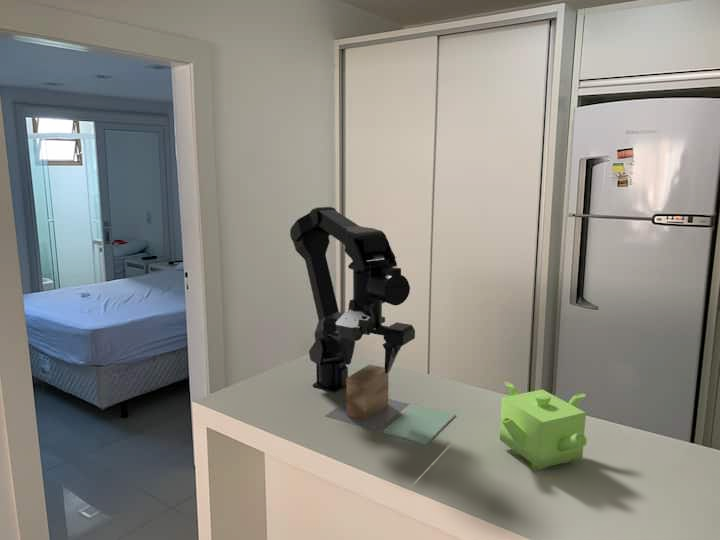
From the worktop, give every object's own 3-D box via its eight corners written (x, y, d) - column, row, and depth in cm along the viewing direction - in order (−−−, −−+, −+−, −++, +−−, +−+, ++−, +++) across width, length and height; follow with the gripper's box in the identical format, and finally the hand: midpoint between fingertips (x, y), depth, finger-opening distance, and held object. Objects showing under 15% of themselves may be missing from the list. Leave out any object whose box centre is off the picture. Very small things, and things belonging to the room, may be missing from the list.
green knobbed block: (502, 430, 108) (505, 374, 106) (581, 442, 104) (585, 385, 101) (492, 469, 94) (495, 407, 92) (583, 486, 90) (589, 420, 88)
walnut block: (346, 415, 114) (346, 378, 113) (369, 399, 122) (369, 364, 120) (366, 420, 112) (365, 382, 110) (388, 404, 119) (388, 368, 118)
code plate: (324, 416, 114) (324, 415, 114) (361, 392, 126) (361, 391, 126) (375, 431, 108) (375, 430, 108) (409, 404, 119) (409, 403, 119)
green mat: (382, 433, 107) (382, 431, 107) (415, 406, 119) (415, 404, 118) (425, 446, 102) (425, 443, 102) (455, 416, 114) (455, 414, 114)
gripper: (305, 296, 110) (306, 372, 113) (389, 310, 100) (388, 392, 103) (337, 285, 119) (338, 355, 122) (416, 296, 110) (415, 372, 113)
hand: (367, 368), depth 115 cm, fingers open, 9 cm apart
